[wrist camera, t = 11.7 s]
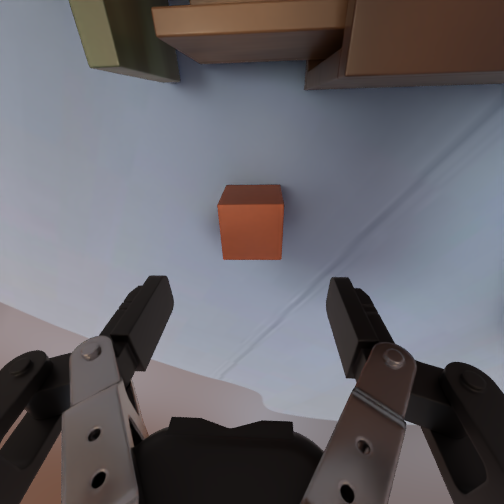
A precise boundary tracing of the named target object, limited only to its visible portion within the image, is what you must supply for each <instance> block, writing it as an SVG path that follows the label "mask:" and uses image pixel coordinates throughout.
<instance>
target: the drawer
mask: <svg viewBox="0 0 504 504" xmlns="http://www.w3.org/2000/svg"><path fill="white" fill-rule="evenodd" d="M189 1H190V5H177V6H169V3H168V0H69V3H70V7H71V10H72V13H73V16H74V19H75V23H76V26H77V29H78V32H79V35H80V39H81V42H82V45H83V48H84V51H85V55H86V58H87V61H88V64H89V67H90V68H93V69H98V70H102V71H107V72H112V73H117V74H122V75H127V76H132V77H137V78H142V79H147V80H152V81H157V82H162V83H169V82H180V75H179V69H178V62H177V55H176V49H177V50H178V51H180V52H181V53H183V54H185V55H186V56H188V57H190V58H191V59H193V60H195V61H196V62H198V63H199V64H217V63H243V62H268V61H293V60H319V59H327V58H328V57H330V56H331V55H333V54H334V53H335V52H337V51H338V50H340V49H341V48H342V44H343V37H344V29H345V22H346V15H347V7H348V0H189Z"/></svg>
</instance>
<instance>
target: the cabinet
mask: <svg viewBox="0 0 504 504" xmlns="http://www.w3.org/2000/svg"><path fill="white" fill-rule="evenodd" d="M474 84H504V0H348V7H347V15H346V22H345V29H344V37H343V44H342V48H341V49H340V50H338V51H337V52H335V53H334V54H333V55H331V56H330V57H328V58H327V59H319V60H306V72H305V85H304V90H323V89H353V88H383V87H413V86H444V85H474Z"/></svg>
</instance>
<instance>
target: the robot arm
mask: <svg viewBox="0 0 504 504" xmlns="http://www.w3.org/2000/svg"><path fill="white" fill-rule="evenodd" d="M173 306H174V299H173V295H172V291H171V288H170V284H169V280H168V278H167V276H149V277H148V278H147V280H146V281H145V283H144V284H143V286H138V287H137V288H135V289H134V290H133V291H131V292H130V293H129V294H128V296H127V297H126V299H125V300H124V303H122V304H121V306H120V307H119V310H117V311H116V312H115V314H114V315H113V317H112V318H111V319H110V321H109V322H108V324H107V325H106V326H105V328H104V329H103V331H102V332H101V333H100V335H99V336H96V337H93V338H90V339H88V340H86V341H84V342H83V343H81V344H80V345H79V346H77V347H76V349H75V350H74V351H73V352H72V353H68V354H64V355H60V356H56V357H53V358H48V356H47V355H46V354H45V353H44V352H43V351H39V350H36V351H31V352H27V353H24V354H22V355H20V356H18V357H16V358H15V359H13V360H12V361H10V362H9V363H8V364H6V365H5V366H4V367H3V368H2V369H1V370H0V443H1V441H2V439H3V437H4V436H5V434H6V433H7V432H8V430H9V429H10V427H11V426H12V425H13V423H14V422H15V421H16V419H17V418H18V417H19V415H20V414H21V413H22V411H23V410H24V409H25V410H26V411H27V413H26V415H25V416H24V418H23V419H22V420H21V422H20V423H19V424H18V426H17V427H16V429H15V430H14V431H13V433H12V434H11V436H10V437H9V439H8V440H7V441H6V443H5V444H4V445H3V447H2V448H1V450H0V504H19V503H20V502H21V500H22V498H23V497H24V495H25V493H26V492H27V490H28V488H29V486H30V484H31V483H32V481H33V479H34V478H35V476H36V474H37V472H38V470H39V469H40V467H41V465H42V464H43V462H44V460H45V458H46V457H47V455H48V453H49V451H50V450H51V448H52V446H53V444H54V443H55V441H56V439H57V437H58V436H59V434H60V432H61V430H62V480H61V481H62V482H61V483H62V484H61V486H62V487H61V489H62V490H61V498H62V500H61V504H388V501H389V497H390V492H391V488H392V484H393V480H394V476H395V472H396V468H397V464H398V460H399V455H400V452H401V448H402V443H403V439H404V435H405V431H406V422H404V420H406V421H408V422H411V423H414V424H417V425H419V426H421V429H422V431H423V433H424V435H425V438H426V440H427V442H428V445H429V447H430V449H431V452H432V454H433V456H434V458H435V461H436V463H437V466H438V468H439V470H440V472H441V475H442V477H443V480H444V482H445V484H446V486H447V489H448V491H449V494H450V496H451V498H452V500H453V503H454V504H504V394H503V392H502V391H501V390H500V389H499V387H498V386H497V385H496V383H495V382H494V381H493V380H492V379H491V378H490V377H489V376H488V375H486V374H485V373H484V372H482V371H481V370H479V369H477V368H476V367H474V366H471V365H469V364H466V363H462V362H452V363H449V364H448V365H447V366H446V367H445V369H442V368H439V367H435V366H432V365H428V364H425V363H422V362H419V361H416V360H414V358H413V357H412V355H411V354H410V353H409V352H408V351H406V350H405V349H404V348H402V347H401V346H399V345H397V344H395V343H394V341H393V339H392V337H391V335H390V334H389V332H388V330H387V328H386V326H385V324H384V323H383V321H382V319H381V317H380V315H379V314H378V312H377V310H376V308H375V307H374V304H373V302H372V301H371V299H370V297H369V296H368V295H367V294H366V293H365V292H364V291H363V290H362V289H360V288H354V287H353V285H352V283H351V281H350V279H349V278H348V277H332V278H331V280H330V284H329V289H328V295H327V300H326V311H327V315H328V319H329V322H330V325H331V329H332V332H333V336H334V339H335V342H336V346H337V349H338V352H339V356H340V359H341V362H342V366H343V369H344V372H345V376H346V378H354V379H356V382H357V383H356V385H355V387H354V389H353V390H352V392H351V394H350V397H349V399H348V401H347V403H346V405H345V407H344V410H343V412H342V414H341V416H340V418H339V420H338V423H337V425H336V427H335V429H334V431H333V433H332V436H331V438H330V440H329V442H328V444H327V447H326V449H325V451H323V450H322V449H321V448H320V447H318V446H317V445H316V444H315V443H314V442H313V441H311V440H310V439H308V438H306V437H305V436H303V435H301V434H299V433H297V432H294V431H293V423H292V422H288V421H258V422H255V423H251V424H247V425H243V426H240V427H236V428H226V427H224V426H221V425H218V424H215V423H213V422H210V421H207V420H205V419H202V418H187V417H185V418H184V417H172V418H171V421H170V424H169V427H167V428H164V429H161V430H159V431H157V432H155V433H153V434H151V435H150V436H149V435H148V432H147V430H146V427H145V425H144V422H143V419H142V415H141V411H140V407H139V403H138V399H137V396H136V392H135V388H134V384H133V381H132V377H133V375H134V372H135V371H146V368H147V366H148V364H149V362H150V360H151V357H152V355H153V353H154V351H155V348H156V346H157V344H158V342H159V340H160V337H161V335H162V333H163V331H164V328H165V326H166V324H167V322H168V319H169V317H170V315H171V313H172V310H173Z"/></svg>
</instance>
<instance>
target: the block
mask: <svg viewBox="0 0 504 504" xmlns="http://www.w3.org/2000/svg"><path fill="white" fill-rule="evenodd" d="M217 207H218V216H219V225H220V234H221V243H222V252H223V259H224V260H281V259H282V238H283V218H284V202H283V197H282V191H281V186H280V185H227V186H226V187H225V190H224V192H223V194H222V196H221V198H220V200H219V203H218V205H217Z"/></svg>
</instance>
